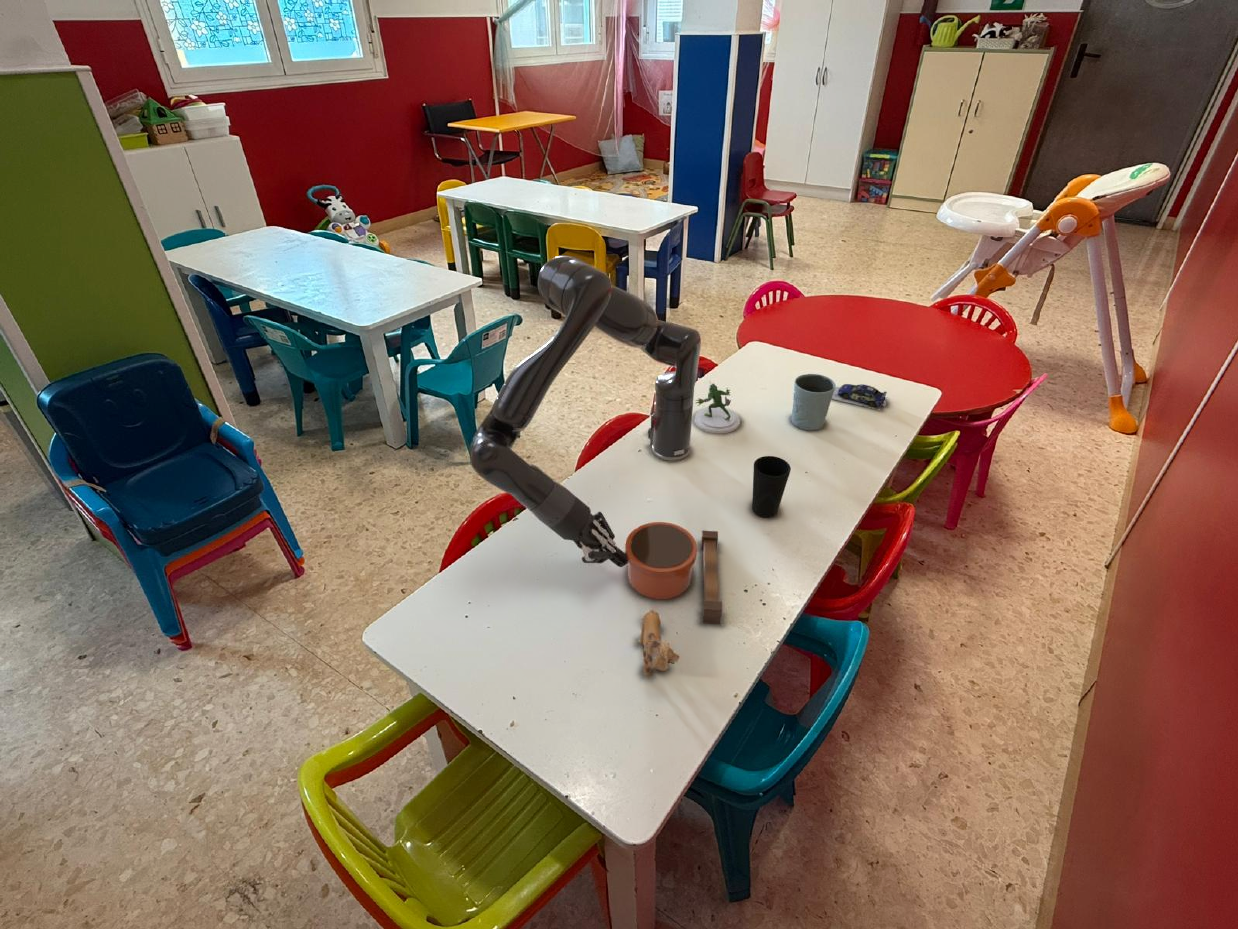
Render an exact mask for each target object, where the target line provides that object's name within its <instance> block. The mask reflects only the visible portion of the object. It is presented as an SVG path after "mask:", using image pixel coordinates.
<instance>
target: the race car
mask: <svg viewBox="0 0 1238 929" xmlns="http://www.w3.org/2000/svg"><path fill="white" fill-rule="evenodd" d="M887 393H888V391H883V392H882V391H880V390H878V389H877V387H875V386H871V385H868V384H862V383H861V384H851V383H850V384H849V383H844V384H842V385H841V386H840V387H837V386H836V387H835V390H834V393H833V396H832V399H831V401H837V402H840V403H841V402H842V403H846V404H850V405H855V406H859V407H863V408H867V409H873V410H876V411H881V409H882V406H883V407H886V406H887V399H886V395H887Z"/></svg>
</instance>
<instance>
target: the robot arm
mask: <svg viewBox="0 0 1238 929" xmlns="http://www.w3.org/2000/svg"><path fill="white" fill-rule="evenodd" d="M538 273H539V274H538V279H537V288H538V292H539V295H540V298H541V299H542V300H543V302H544V303H545V304H546V306H548V307H549V308H551V309H552V310H554V311H556V312H558V314H561V315H563V316H564V319H563V321H562V323H561V325H560V327H559V329H557V331H556V332H555V334H554V335H553V336H552V337H551V338H550V339H549V340H548V341H547V342H546V343H545V344H544V345H542V346H541V347H540V348H538V349H537V350H535V351H534V352H532V353H531V354H529V355H528V356H527V357H525V358H524V359H522V360H521V361H520V362H519V363H517V364H516V365H515V367H513V369H512V370H511V371H510V373H509V374H508V376H507V377H506V378H505V381H504V383H503V385H502V387H501V388H500V391H499V392H498V394H497V396H496V398H495V400H494V403H493V405H492V407H491V409H490V410H489V412H488V413H487V415H486V416H485V417H484V419H483V421H482V422H481V423H480V425H479V427H478V428H477V430H476V431H475V433H474V435H473V437H472V439H471V442H470V444H469V462H470V466H471V467H472V469H473V471H474V472H475V473H476V474H477V475H479V476H480V478H481V479H483V480H485V481H486V482H487V483H488V484H490V485H493V487H496V488H497V489H499V490H500V491H503V492H504V493H507V494H509V495H510V496H512V498H513V499H514V500H516V501H517V502H518V503H519V504H521V505H522V506H523V507H524V508H526V509H527V510H528V511H530V512H531V513H532V515H533V516H534V517H536V519H537V520H539V522H541V523H542V524H544V525H545V526H546V527H547V528H548V529H550V530H551V531H553V532H554V533H555V534H557V535H558V536H559V537H560V538H561V539H563V540H564V541H573V543H574V544H575V545H576V547H577V548H578V549H580V550H582V553H583V556H582V557H581V561H582V562H583V564H603V563H605V562H606V561H608V560H609V561H610V562H611V563H613V564H614V565H615V566H617V567H618V568H623V567H625V566H627V565H628V561H627V559H626V555H625V551H623V550H622V549H620V548H619V547H618V546H617V543H616V541H615V540H614V539H615V538H616V536H615V533H614V531H613V530H612V528H611V526H610V524H609V523H608V521H607V519H606V517H605V516H604V514H603V512H602V511H598V512H596V513H595V514H592V511H591V508H590V507H589V506H588V505H587V504H586V503H584V502H583V501H582V500H581V499H580V498H578V497H577V496H576V495H575V494H573V493H572V492H571V491H570V490H569V489H568V488H567V487H565V486H564V485H562V484H561V483H560V482H558V481H556V480H555V479H554V478H552V477H551V476H550V475H549V474H547V473H546V472H545V471H543V470H542V469H541V468H540V467H539V466H537V465H536V464H533V463H529V462H527V461H526V460H524V458H522V457H521V456H520V455H518V454H517V453H516V452H515V451H514V450H513V446H514V444H515V442H516V441H517V439H518V438H519V436H520V433H521V432H522V430H525V429H526V428H527V427H528V426H529V425H530V424H531V422H532V420H533V418H534V417H535V415H536V413H537V411H538V410H539V407H540V405H541V404H542V402H543V401H544V399H545V396H546V395H547V393H548V391H549V389H550V388H551V386H552V384H553V383H554V381H555V379H556V378H557V377H558V376H559V374H560V373H561V371H562V370H563V369H564V368H565V366H566V365H567V363H568V362H570V360H571V359H572V357H573V356H574V354H576V352H577V350H579V348H580V347H581V345H582V344H583V343H584V341H585V340H586V338H587V337H588V336H589V334H590V333H591V332H592V330H593V329H594V328H596V329H597V330H599V331H600V332H602V333H603V334H605V335H606V336H607V337H609V338H611V339H613V340H614V341H617V342H618V343H621V344H622V345H625V346H627V347H630V348H633V349H639V350H641V351H642V352H643V353H644V354H646V355H647V356H648V357H649V358H651V359H652V360H654V362H657V363H660V364H662V365H666V366H669V367H672V368H675V370H673V371H667V372H663V373H660V374H659V375H658V376H657V377H656V379H655V382H654V400H653V401H654V404H653V406H654V407H653V413H652V414H651V416H650V428H648V429H647V439H649V440H650V442H649V443H650V444H649V448H650V449H652V453H653V455H654V456H655V457H656V458H658V459H661V460H663V461H668V462H676V461H681V460H684V459H686V458H687V457H688V456H689V455H690V452H691V437H692V423H693V408H694V396H695V394H694V393H695V385H696V382H697V378H698V370H699V362H700V354H701V348H702V347H701V346H702V338H701V334H700V332H699V331H698V330H697V329H695V328H692V327H688V326H685V325H680V324H677V323H673V322H670V321H663V320H660V319H658V315H657V313H656V311H655V309H654V308H653V307H652V306H651V305H650V304H649V303H648V302H646V301H644V300H643V299H642V298H640V297H638V296H636V295H635V294H633V293H631V292H629V291H626V290H624V289H623V288H620V287H617V286H615V285H613V282H612V280H611V278H610V277H609V275H608V274H607V273H605V272H604V271H602V270H600V269H598V268H596V267H595V266H593V265H590V264H589V263H587V262H585V261H583V260H581V259H579V258H576V257H575V256H571V255H559V256H555V257H553V258H551V259H549V260H548V261H546V263H545V264H543V266H542V267H541V269H540V271H539V272H538Z"/></svg>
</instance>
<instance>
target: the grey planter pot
mask: <svg viewBox="0 0 1238 929" xmlns="http://www.w3.org/2000/svg"><path fill="white" fill-rule="evenodd" d="M793 385H794V386H793V391H794V392H793V398H792V400H793V401H792V410H791V411H792V412H791V423H792V424H793V426H795V427H797V428H798V429H801V430H805V431H818V430H820V429H822V428H823V427H824V425H825V422H826V417H827V415H828V413H829V410H830V406H831V401H832V396H833V393H834V390H835V389H836V388H837V386H836V382H835V381H834V380H833V379H831V378H829V377H828V376H826V375H822V374H819V373H806V374H801V375H798V376H797V377H796V378H795V379H794V384H793Z"/></svg>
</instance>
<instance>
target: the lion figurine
mask: <svg viewBox="0 0 1238 929" xmlns="http://www.w3.org/2000/svg"><path fill="white" fill-rule="evenodd" d="M643 615H644V616H643V617H642V618H641V620H642V621H641V626H640V627H641V628H640V629H641V633H640V637H639V639H638V641H637V644H638V645H639V646H644V647H643V650H642V656H643V663H644V669H643V674H644V675H646V676H649V675H651V673H652V672H651V671H652V670H658V671H662V672H664V671H666V670H668V668H669V665H670V664H671V665H676V663H678V661H679V660H680V659H681V656H680V655H679V654H678V653H675V652H674V649H673V648H671V646H670V642H669V641H668V640H666V641H663V640H662V635H661V632H660V627H661V625H662V624H661V622H662V620H661V618H660V615H659V613H658V612H656V611H654V610H653V609H651V610H649V611H648V612H645V614H643Z"/></svg>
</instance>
